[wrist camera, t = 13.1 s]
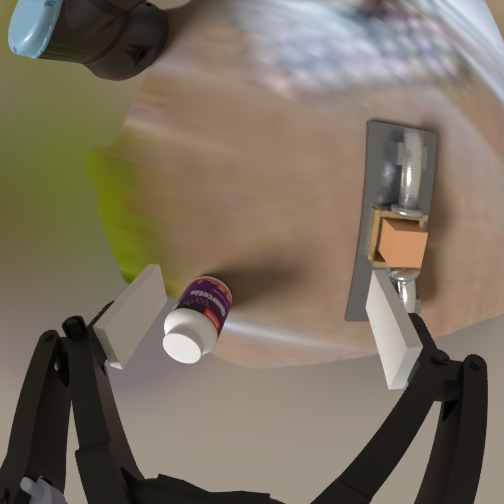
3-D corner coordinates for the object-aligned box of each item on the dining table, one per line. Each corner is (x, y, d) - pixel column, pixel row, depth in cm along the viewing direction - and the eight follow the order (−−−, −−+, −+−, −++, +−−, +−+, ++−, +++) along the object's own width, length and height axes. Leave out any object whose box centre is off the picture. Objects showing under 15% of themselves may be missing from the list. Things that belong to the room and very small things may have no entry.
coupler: (377, 248, 39) (388, 266, 33) (382, 216, 37) (395, 230, 31) (406, 250, 38) (420, 267, 33) (411, 219, 36) (428, 233, 31)
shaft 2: (384, 262, 39) (395, 280, 34) (411, 254, 38) (425, 271, 33) (391, 318, 43) (400, 339, 38) (415, 310, 42) (426, 330, 37)
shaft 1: (412, 208, 35) (428, 219, 30) (384, 205, 36) (397, 216, 31) (419, 132, 31) (437, 133, 26) (389, 127, 32) (404, 126, 26)
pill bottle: (242, 290, 46) (221, 348, 33) (219, 320, 50) (196, 377, 37) (201, 264, 46) (166, 315, 33) (181, 296, 49) (147, 348, 36)
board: (366, 121, 33) (374, 119, 29) (433, 133, 31) (446, 133, 27) (344, 316, 46) (347, 332, 42) (400, 317, 44) (407, 331, 40)
